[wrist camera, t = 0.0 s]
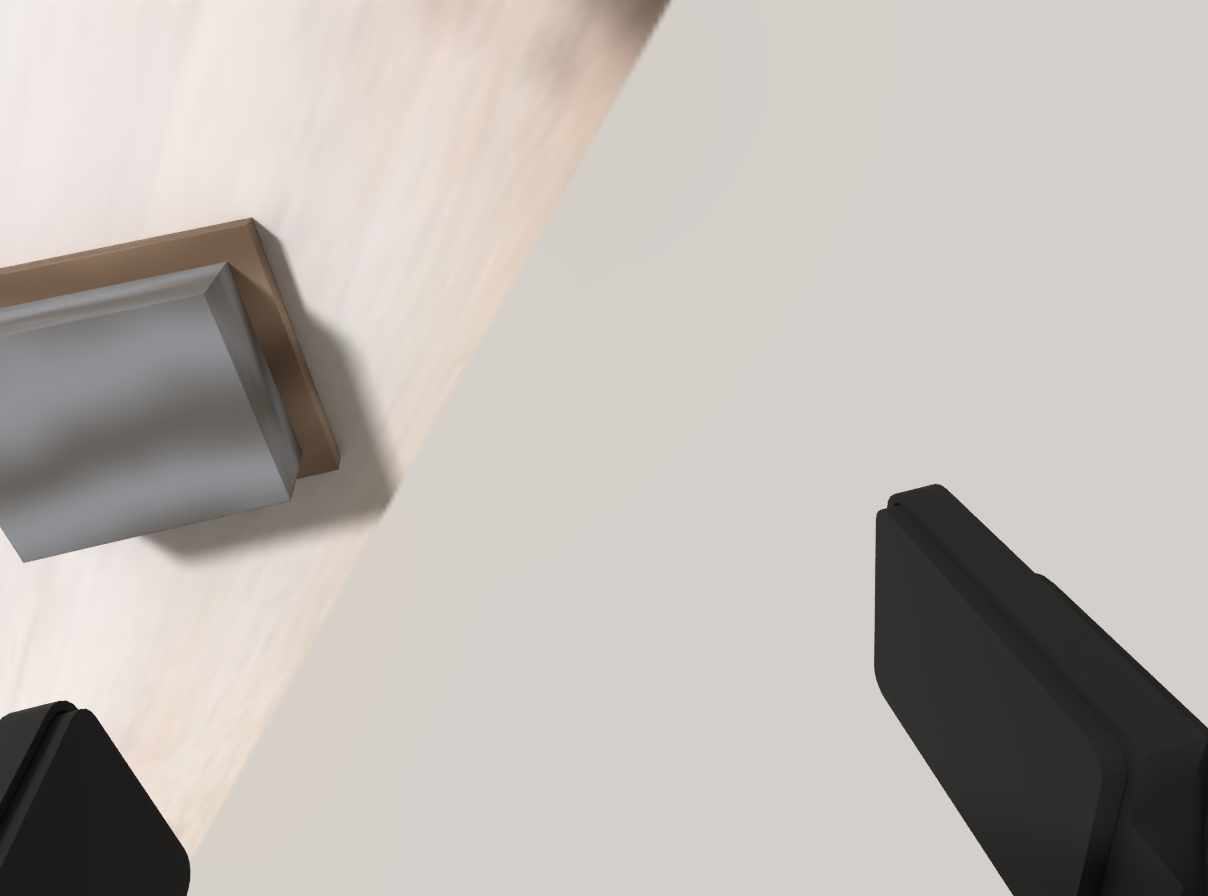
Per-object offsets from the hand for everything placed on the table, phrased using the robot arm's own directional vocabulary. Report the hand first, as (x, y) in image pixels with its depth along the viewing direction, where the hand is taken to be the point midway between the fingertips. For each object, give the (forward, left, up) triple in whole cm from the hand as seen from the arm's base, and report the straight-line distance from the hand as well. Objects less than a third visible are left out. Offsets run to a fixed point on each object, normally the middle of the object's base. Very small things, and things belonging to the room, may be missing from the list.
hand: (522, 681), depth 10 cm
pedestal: (+8, -18, -37) cm, 42 cm away
